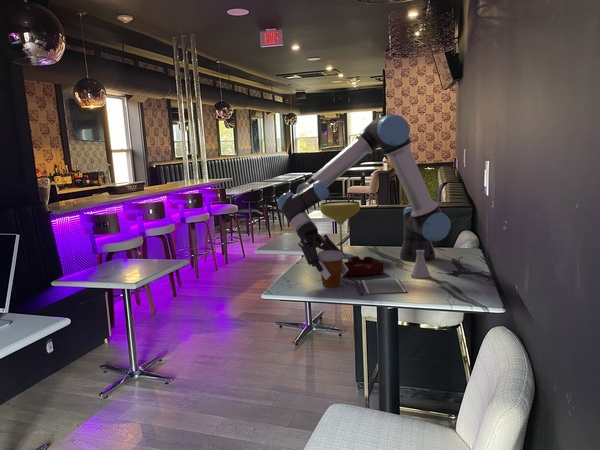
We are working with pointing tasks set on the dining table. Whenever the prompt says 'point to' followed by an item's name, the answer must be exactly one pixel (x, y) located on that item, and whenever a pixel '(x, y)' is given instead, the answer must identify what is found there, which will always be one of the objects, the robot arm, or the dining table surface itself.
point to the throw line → (359, 288)
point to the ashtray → (363, 266)
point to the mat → (383, 286)
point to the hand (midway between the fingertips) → (337, 274)
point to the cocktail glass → (340, 214)
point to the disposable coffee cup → (331, 266)
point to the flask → (420, 266)
